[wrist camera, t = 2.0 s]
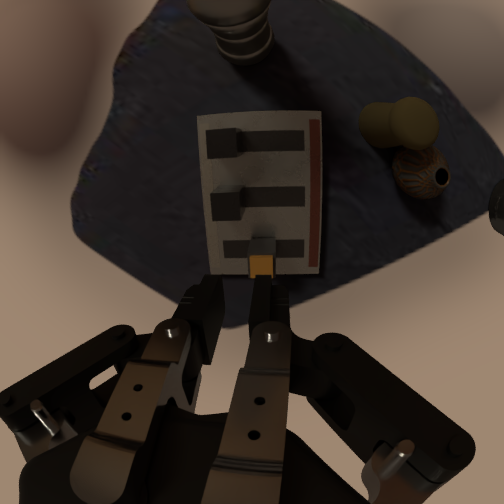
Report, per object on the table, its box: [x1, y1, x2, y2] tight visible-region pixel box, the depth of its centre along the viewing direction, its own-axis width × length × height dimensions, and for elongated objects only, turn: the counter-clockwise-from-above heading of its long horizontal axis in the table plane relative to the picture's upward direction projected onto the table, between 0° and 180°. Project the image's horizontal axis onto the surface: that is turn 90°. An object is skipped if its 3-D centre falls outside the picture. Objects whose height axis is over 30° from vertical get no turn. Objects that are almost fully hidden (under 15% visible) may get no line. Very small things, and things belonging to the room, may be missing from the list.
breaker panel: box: [197, 111, 322, 274], centre depth 31 cm, size 14×20×6 cm
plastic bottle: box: [186, 0, 275, 66], centre depth 18 cm, size 6×7×20 cm
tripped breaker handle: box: [247, 238, 276, 278], centre depth 32 cm, size 3×3×5 cm
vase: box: [392, 145, 451, 199], centre depth 27 cm, size 7×7×9 cm
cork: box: [359, 97, 439, 150], centre depth 24 cm, size 6×6×11 cm
